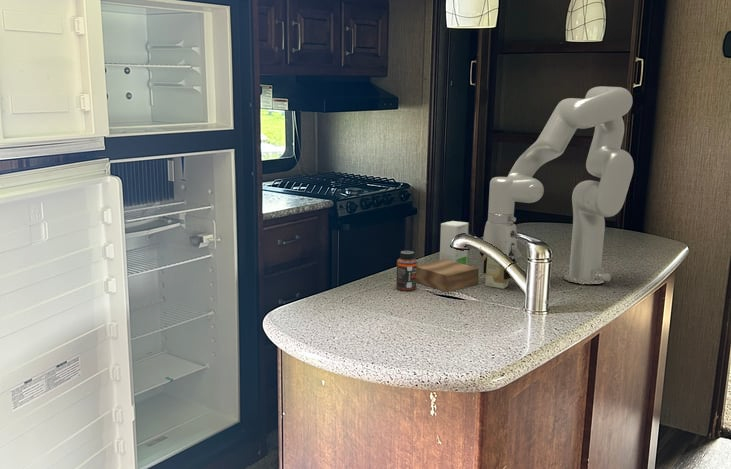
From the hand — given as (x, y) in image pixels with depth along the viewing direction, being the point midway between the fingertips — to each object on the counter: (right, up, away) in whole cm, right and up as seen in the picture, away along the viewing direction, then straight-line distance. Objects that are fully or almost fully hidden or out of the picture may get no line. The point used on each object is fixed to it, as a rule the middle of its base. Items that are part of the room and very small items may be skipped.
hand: (497, 275), depth 219 cm
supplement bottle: (-28, -4, -3) cm, 28 cm away
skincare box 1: (-11, +1, +20) cm, 23 cm away
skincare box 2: (0, -4, +1) cm, 4 cm away
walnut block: (-15, -3, +3) cm, 16 cm away
